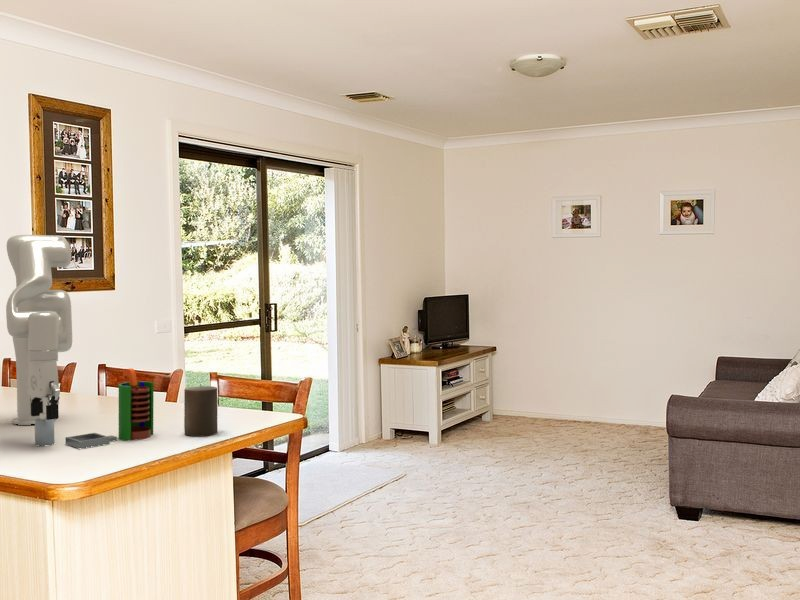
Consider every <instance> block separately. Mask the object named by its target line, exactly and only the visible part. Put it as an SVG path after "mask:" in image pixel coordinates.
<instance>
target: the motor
mask: <svg viewBox="0 0 800 600" xmlns="http://www.w3.org/2000/svg"><path fill="white" fill-rule="evenodd" d="M122 377H128V378H129V380H128V381H126V382H121V383H118V439H119V440H122V441H127V440H130V441H132V440H133V441H134V440H135V439H139V440H145V439H148V438H149V439H150V437H151V436H152V435H154V386H155V385H154V384H155V383H154V382H153V381H138V380H137V379H138V378H137V374H136V369H134V368H124V369H122ZM135 441H136V440H135Z"/></svg>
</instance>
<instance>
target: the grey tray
mask: <svg viewBox="0 0 800 600" xmlns="http://www.w3.org/2000/svg"><path fill="white" fill-rule="evenodd" d="M117 439H118V438H117V436H115V435H103V434H101V433H97V432H90V433H84V434H79V435H78V434H77V435H70V436H66V437H65V442H64V443H65V445H66V444H67V445H66V446H69V445H70V446H69V447H72V446H73V448H75V447H76V449H78V448H84V449H87V448H86V447H89V448H92V447H91V446H95V447H99V446H98V445H101V446H104V445H103V444H106V445H110V442H114V441H113V440H116V441H117Z"/></svg>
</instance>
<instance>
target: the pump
mask: <svg viewBox="0 0 800 600" xmlns="http://www.w3.org/2000/svg"><path fill="white" fill-rule="evenodd" d="M55 439H56V438H55V420H54V419H52V420H47V419H46V412H45V413H40V419H36V420H35V425H34V446H35V445H39V446H38V447H46V446H45V445H50V446H52V444H53V445H55V444H54V443H55Z"/></svg>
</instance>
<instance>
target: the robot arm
mask: <svg viewBox="0 0 800 600" xmlns="http://www.w3.org/2000/svg"><path fill="white" fill-rule="evenodd" d="M6 252H7V257H8V260H9V262H10V265H11V266H12V269H13V272H14V276H15V283H16V286H15V287H16V288H14V289H13V290H12V292H11V294H10V295H9V297H8V299H7V302H6V306H5V307H6V308H5V313H6V317H5V318H6V329H7V332H8V334H9V335H10V336H11V337H12V342H13V349H14V353H15V354H14V355H15V368H16V405H17V406H16V409H17V410H16V412H17V414H16V415H17V417H14V418H12V420H11V422H12V424H13V425H16V424H18V426H32V425H31V424H35V420H36V419H40V413H45V412H46V419H47V420H52V419H54V421H55V420H57V419H59V417H60V415H59V412H60V411H59V405H60V401H59V400H60V395H61V389H60V385H59V371H58V364H57V362H59V353H65V352H68V351H70V350H71V348H72V345H73V321H72V320H73V319H72V302H71V297H70V294H69V293H68V292H67V291H65V290H62V289H51V288H52V286H53V275H52V268H67V267H69V266H70V264H71V260H72V250H71V246H70V243H69V242H68V240H67V239H66V237H64V236H62V235H55V234H54V235H52V234H50V235H48V234H45V235H44V234H43V235H41V234H18V235H13V236H11V237H9V238H8V239H7V241H6Z"/></svg>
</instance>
